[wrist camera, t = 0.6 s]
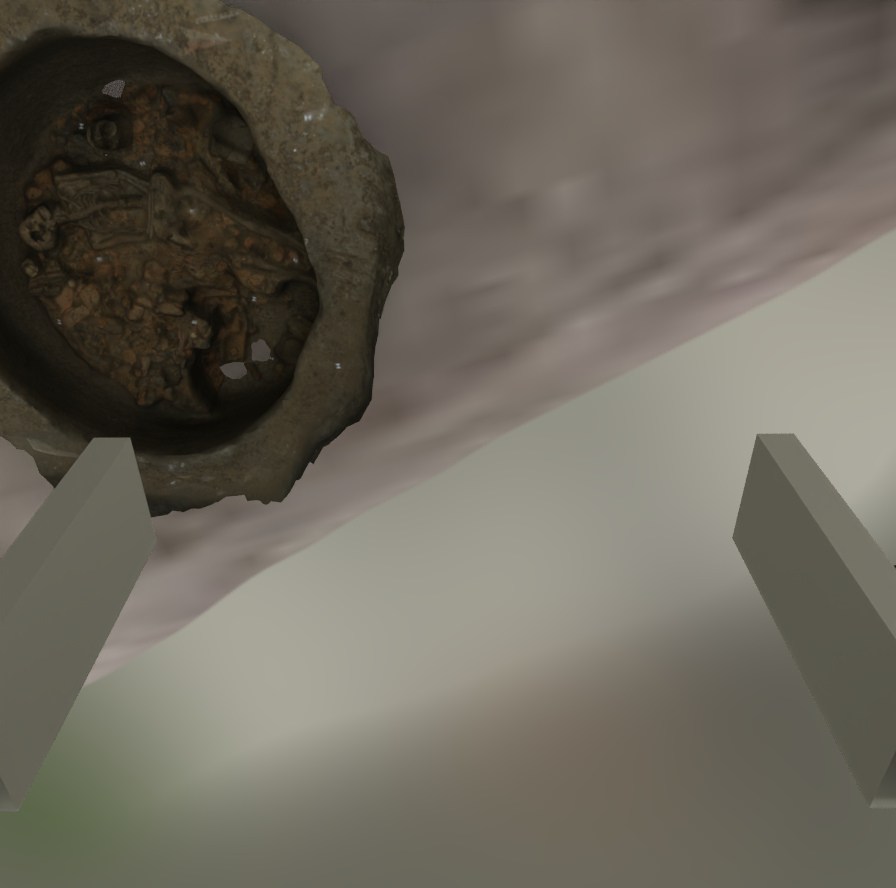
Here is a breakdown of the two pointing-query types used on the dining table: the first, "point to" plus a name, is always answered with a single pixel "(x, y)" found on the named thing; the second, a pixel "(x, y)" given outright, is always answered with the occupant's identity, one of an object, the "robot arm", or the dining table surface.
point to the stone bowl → (183, 246)
